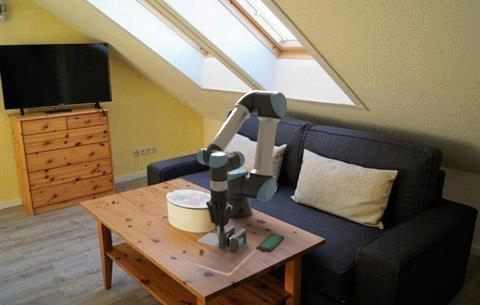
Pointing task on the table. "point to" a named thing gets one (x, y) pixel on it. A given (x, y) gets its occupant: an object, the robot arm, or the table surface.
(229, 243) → the grey block
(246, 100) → the robot arm
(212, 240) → the grey angular piece
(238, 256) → the table surface
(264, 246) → the smartphone
